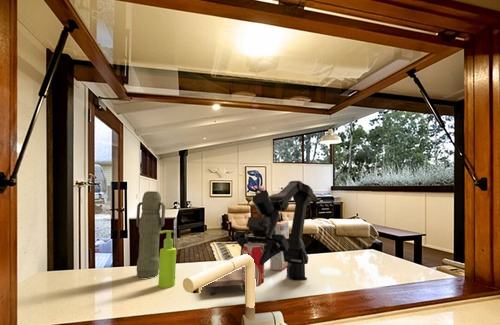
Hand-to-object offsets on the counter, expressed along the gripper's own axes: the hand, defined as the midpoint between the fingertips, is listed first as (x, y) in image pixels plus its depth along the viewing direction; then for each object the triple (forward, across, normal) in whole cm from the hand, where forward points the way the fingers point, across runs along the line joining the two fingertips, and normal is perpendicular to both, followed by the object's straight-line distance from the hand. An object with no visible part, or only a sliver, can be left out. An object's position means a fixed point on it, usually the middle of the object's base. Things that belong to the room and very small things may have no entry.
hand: (250, 263), depth 84 cm
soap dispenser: (+11, -36, +7) cm, 38 cm away
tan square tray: (+3, -16, +14) cm, 21 cm away
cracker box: (-24, -14, +42) cm, 50 cm away
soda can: (+4, 0, +6) cm, 7 cm away
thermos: (+8, -53, +10) cm, 54 cm away
